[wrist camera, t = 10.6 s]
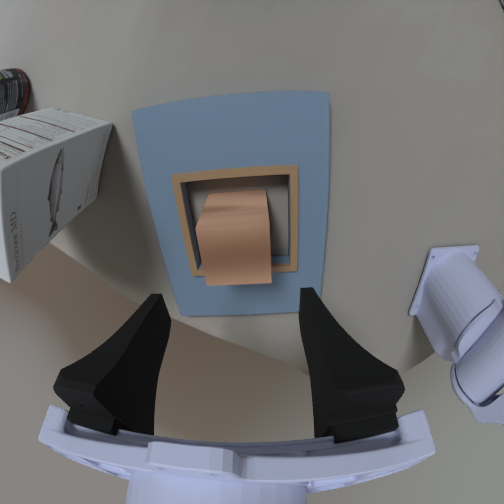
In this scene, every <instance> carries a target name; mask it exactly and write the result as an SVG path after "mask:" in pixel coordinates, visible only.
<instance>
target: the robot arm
mask: <svg viewBox="0 0 504 504" xmlns="http://www.w3.org/2000/svg"><path fill="white" fill-rule="evenodd" d="M478 251H479V247H478V246H477V245H469V246H455V247H440V248H432V249H431V250H430V251H429V254H428V258H427V261H426V264H425V267H424V271H423V274H422V277H421V280H420V283H419V285H418V288H417V291H416V294H415V297H414V299H413V302H412V304H411V307H410V310H409V315H411V316H412V315H416V316H417V318H418V320H419V322H420V324H421V326H422V328H423V330H424V332H425V334H426V336H427V338H428V340H429V342H430V344H431V346H432V348H433V349H434V351H435V352H436V353H437V354H438V355H439V356H440V357H442V358H443V359H445V360H447V361H453V362H454V363H453V364H452V366H451V369H450V377H451V384H452V388H453V390H454V392H455V394H456V396H457V397H458V398H459V400H460V401H461V402H463V404H465V405H466V406H467V407H468V409H469V410H470V411H471V413H472V414H473V416H474V418H475V420H476V422H480V423H496V424H503V425H504V393H502V394H501V395H495V394H496V393H497V392H499V390H501V389H502V388H503V387H504V298H503V297H502V296H501V294H500V293H499V292H498V290H497V289H496V288H495V287H494V285H493V284H492V283H491V282H490V280H489V279H488V278H487V277H486V276H485V274H484V273H483V272H482V271H481V270H480V268H479V267H478V266H477V265H476V264H475V263H474V262H475V260H476V257H477V254H478ZM432 256H433V257H432ZM431 257H432V258H431ZM299 323H300V332H301V337H302V342H303V346H304V350H305V355H306V359H307V364H308V368H309V374H310V381H311V390H312V402H313V416H314V436H315V438H313V439H304V440H293V441H279V442H257V443H255V442H254V443H233V442H208V441H194V440H184V439H175V438H174V439H173V438H167V437H159V436H154V412H155V398H156V388H157V382H158V375H159V371H160V367H161V364H162V360H163V356H164V353H165V349H166V346H167V342H168V339H169V333H170V327H171V318H170V316H169V313H168V310H167V307H166V305H165V302H164V299H163V296H162V294H151V295H150V296H149V297H148V298H147V299H146V300H145V301H144V302H143V304H142V305H141V306H140V307H139V309H137V311H136V312H135V313H134V314H133V315H132V316H131V317H130V318H129V319H128V321H126V322H125V323H124V325H123V326H122V327H121V328H120V329H119V330H118V331H117V332H116V333H115V334H113V335H112V336H111V337H110V338H109V339H108V340H107V341H106V342H104V343H103V344H102V345H101V346H99V347H98V348H97V349H95V350H94V351H92V352H91V353H90V354H88V355H87V356H85V357H83V358H82V359H80V360H78V361H77V362H75V363H73V364H71V365H69V366H67V367H65V368H63V369H61V370H60V373H59V375H58V377H57V379H56V382H55V384H54V386H53V389H54V391H55V393H56V394H57V395H58V396H59V397H60V398H61V399H62V400H63V401H64V402H65V403H66V404H67V405H68V406H69V407H70V410H69V412H68V411H67V410H65V409H62V408H59V407H57V406H53V405H50V407H49V409H48V412H47V415H46V417H45V420H44V423H43V426H42V429H41V432H40V435H39V438H38V440H39V441H40V442H42V443H43V444H45V445H46V446H48V447H49V448H51V449H53V450H54V451H56V452H57V453H59V454H61V455H62V456H64V457H67V458H69V459H71V460H74V461H76V462H79V463H81V464H84V465H86V466H89V467H91V468H94V469H97V470H99V471H102V472H105V473H108V474H111V475H114V476H117V477H120V478H123V479H127V480H129V486H128V492H127V498H126V504H307V497H306V493H313V492H319V491H325V490H330V489H335V488H340V487H345V486H349V485H354V484H357V483H362V482H365V481H368V480H372V479H376V478H379V477H382V476H386V475H389V474H392V473H395V472H399V471H402V470H405V469H407V468H410V467H413V466H415V465H417V464H418V463H420V462H422V461H423V460H425V459H427V458H428V457H430V456H431V455H433V454H434V453H435V452H436V450H435V446H434V443H433V439H432V435H431V432H430V429H429V425H428V422H427V419H426V416H425V413H424V410H422V409H421V410H418V411H415V412H412V413H408V414H405V415H402V416H400V417H398V418H397V417H396V412H397V407H396V403H397V402H398V400H399V399H400V398H401V397H402V395H403V393H404V391H405V387H404V384H403V381H402V380H401V377H400V375H399V373H398V371H397V370H395V369H394V368H392V367H390V366H388V365H387V364H385V363H383V362H382V361H380V360H379V359H377V358H376V357H374V356H373V355H372V354H370V353H369V352H368V351H366V350H365V349H364V348H363V347H361V346H360V345H359V344H358V343H357V342H356V341H355V340H354V339H353V338H352V337H351V336H350V335H349V334H348V333H347V332H346V331H345V330H344V329H343V328H342V327H341V326H340V325H339V323H338V322H337V321H336V320H335V319H334V317H333V316H332V315H331V313H330V312H329V311H328V309H327V308H326V307H325V305H324V304H323V302H322V301H321V299H320V298H319V296H318V294H317V293H316V291H315V289H314V288H313V287H307V288H300V303H299Z"/></svg>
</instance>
